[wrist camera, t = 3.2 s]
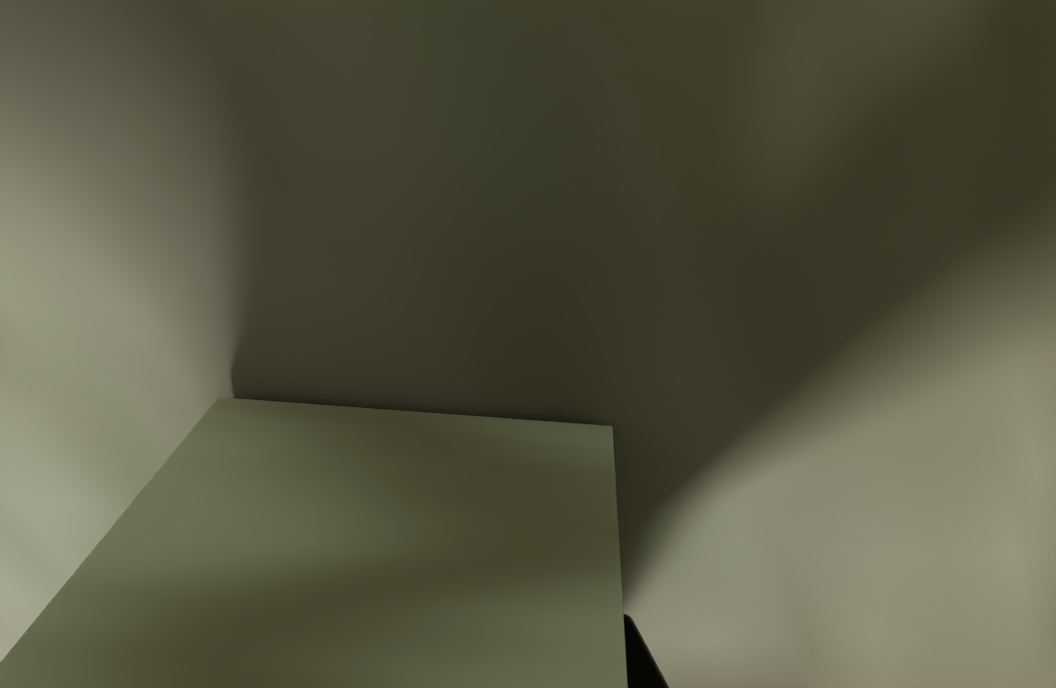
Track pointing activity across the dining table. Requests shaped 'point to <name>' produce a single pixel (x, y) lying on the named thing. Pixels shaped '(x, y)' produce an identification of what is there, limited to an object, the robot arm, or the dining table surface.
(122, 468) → the dining table surface
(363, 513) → the sage block
